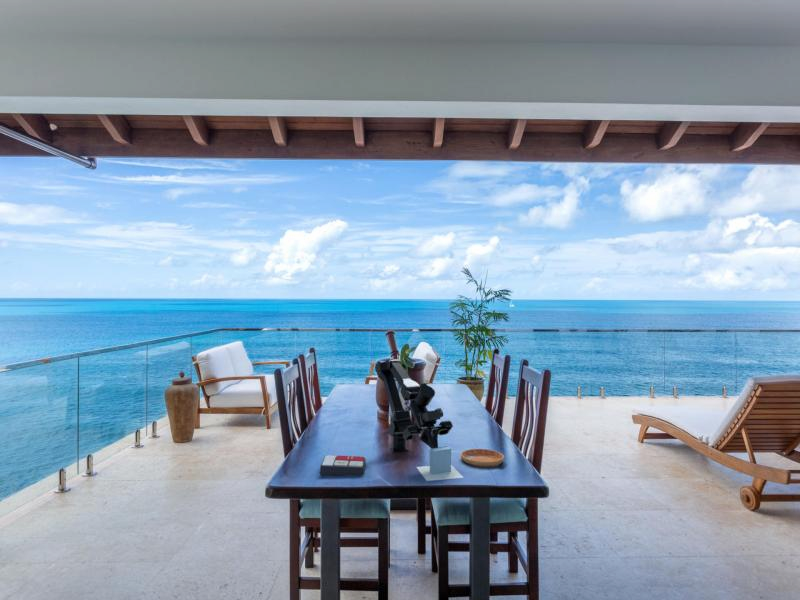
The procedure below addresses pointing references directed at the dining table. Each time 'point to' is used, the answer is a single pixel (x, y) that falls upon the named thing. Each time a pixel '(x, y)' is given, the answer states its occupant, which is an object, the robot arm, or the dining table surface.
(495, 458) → the saucer
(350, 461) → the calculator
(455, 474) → the mat
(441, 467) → the box
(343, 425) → the dining table surface
